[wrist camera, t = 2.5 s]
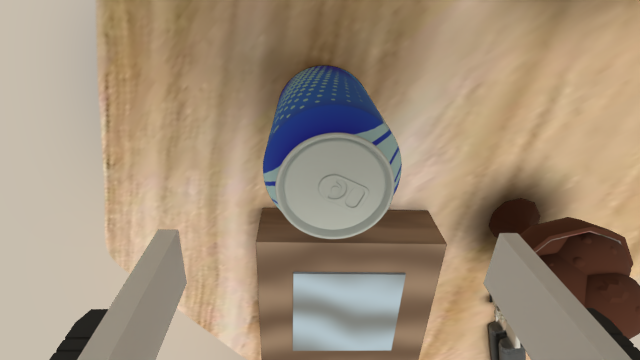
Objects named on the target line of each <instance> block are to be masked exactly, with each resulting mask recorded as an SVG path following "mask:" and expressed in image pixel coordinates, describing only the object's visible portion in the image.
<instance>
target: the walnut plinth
mask: <svg viewBox="0 0 640 360" xmlns="http://www.w3.org/2000/svg"><path fill="white" fill-rule="evenodd" d="M446 246H447V244H446V242H445V240H444V238H443V236H442V235H441V233H440V231H439V229H438V228H437V226H436V224H435V222H434V221H433V219H432V217H431V215H430V214H429V212H428V211H413V210H387V211H386V213H385V214H384V215H383V217H382V218H381V219H380V220H379V221H378V222H377V223H376V224H375V225H373V226H372V227H371V228H369V229H368V230H366V231H364V232H362V233H360V234H357V235H355V236H352V237H348V238H342V239H324V238H318V237H314V236H311V235H309V234H306V233H304V232H302V231H301V230H299V229H298V228H296V227H295V226H294V225H292V224H291V223H290V222H289V221H288V220H287V218H286V217H285V216H284V214H283V213H282V212H281V211H280V210H279V208H263V209H262V214H261V219H260V224H259V229H258V234H257V239H256V255H257V276H258V296H259V317H260V337H261V358H262V360H418V359H419V355H420V351H421V347H422V343H423V339H424V335H425V331H426V327H427V323H428V319H429V315H430V311H431V307H432V303H433V299H434V295H435V291H436V286H437V282H438V278H439V274H440V270H441V266H442V262H443V258H444V254H445V250H446Z"/></svg>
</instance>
